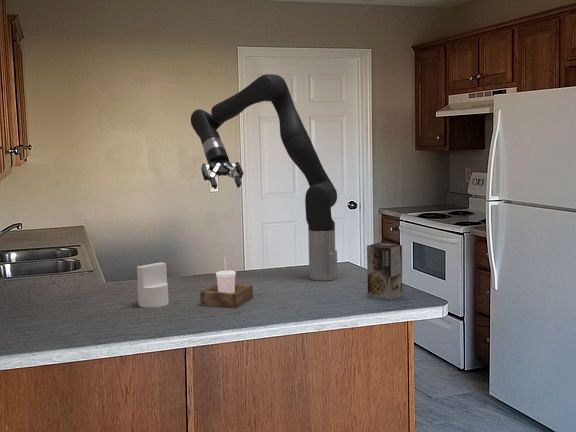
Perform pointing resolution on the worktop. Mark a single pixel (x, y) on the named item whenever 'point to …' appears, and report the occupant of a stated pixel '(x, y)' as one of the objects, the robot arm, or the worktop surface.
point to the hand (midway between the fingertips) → (227, 186)
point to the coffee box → (384, 271)
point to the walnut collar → (226, 296)
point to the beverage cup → (226, 280)
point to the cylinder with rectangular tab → (152, 285)
